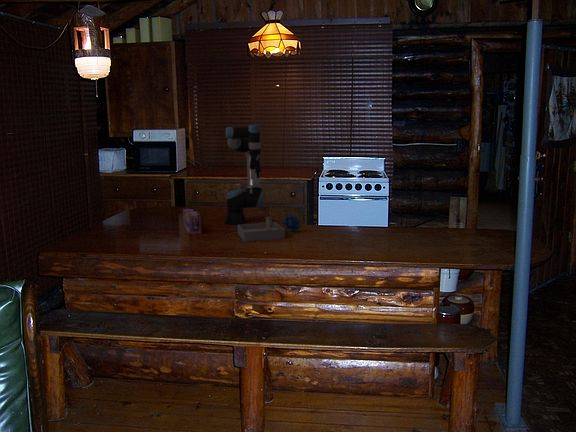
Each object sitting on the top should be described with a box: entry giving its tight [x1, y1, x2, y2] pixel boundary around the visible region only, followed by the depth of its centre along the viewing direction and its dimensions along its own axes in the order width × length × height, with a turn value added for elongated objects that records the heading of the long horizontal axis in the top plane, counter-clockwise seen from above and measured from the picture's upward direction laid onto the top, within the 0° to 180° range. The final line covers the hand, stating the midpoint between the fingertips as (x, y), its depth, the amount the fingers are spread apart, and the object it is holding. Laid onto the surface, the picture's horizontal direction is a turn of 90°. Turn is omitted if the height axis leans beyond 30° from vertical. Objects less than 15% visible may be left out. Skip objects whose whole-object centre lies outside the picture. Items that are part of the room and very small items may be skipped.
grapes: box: [283, 213, 302, 233], centre depth 379 cm, size 12×7×12 cm, turn 82°
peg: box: [265, 216, 273, 230], centre depth 370 cm, size 4×4×12 cm
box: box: [237, 221, 286, 242], centre depth 370 cm, size 22×26×6 cm
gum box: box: [182, 207, 202, 235], centre depth 385 cm, size 24×8×14 cm, turn 21°
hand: (255, 180), depth 379 cm, fingers open, 13 cm apart
